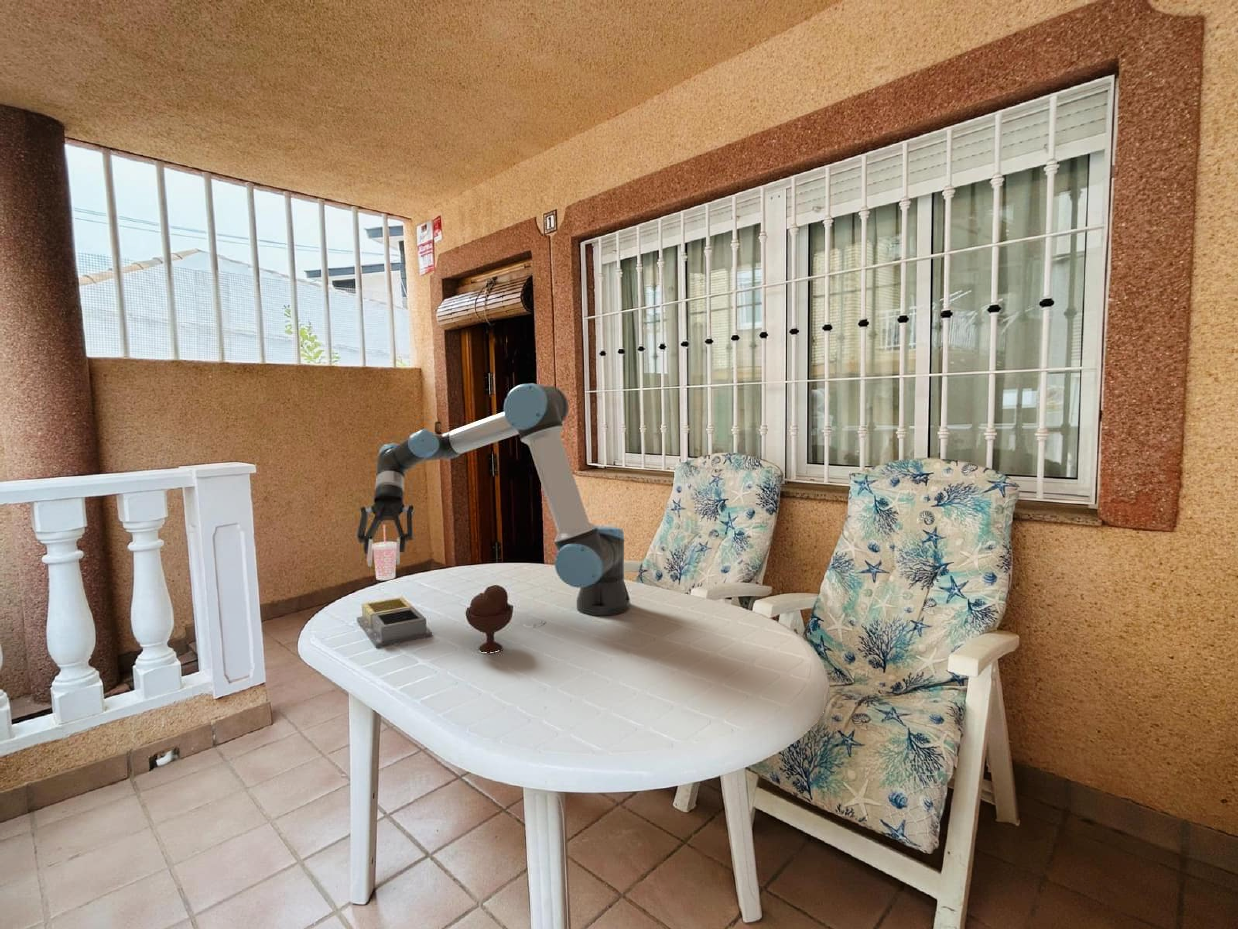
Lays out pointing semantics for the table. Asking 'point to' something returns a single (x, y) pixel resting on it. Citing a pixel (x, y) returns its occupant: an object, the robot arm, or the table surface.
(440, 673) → the table surface
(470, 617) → the ice cream bowl
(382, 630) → the square compartment tray
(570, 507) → the robot arm
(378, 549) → the beverage cup
